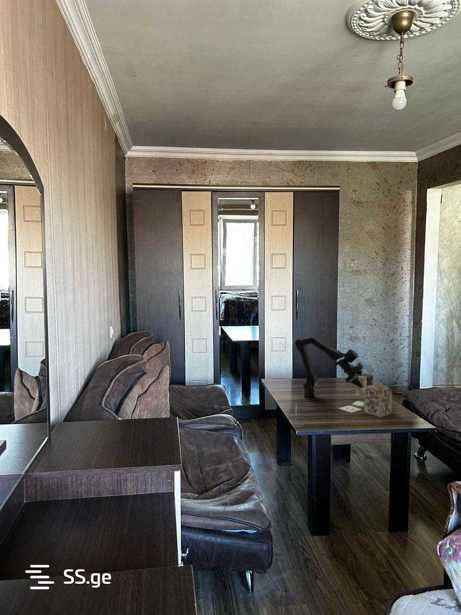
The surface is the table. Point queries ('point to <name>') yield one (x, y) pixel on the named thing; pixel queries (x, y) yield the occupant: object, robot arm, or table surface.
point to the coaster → (358, 403)
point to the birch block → (361, 390)
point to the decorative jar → (378, 400)
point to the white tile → (350, 408)
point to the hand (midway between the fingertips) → (363, 386)
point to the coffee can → (368, 379)
